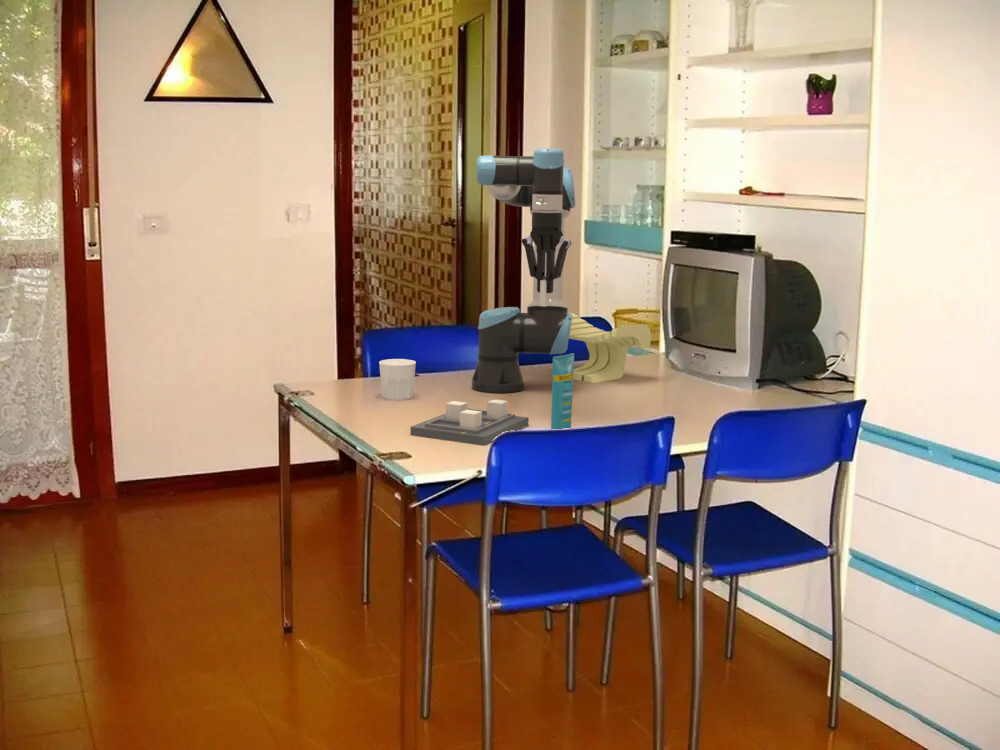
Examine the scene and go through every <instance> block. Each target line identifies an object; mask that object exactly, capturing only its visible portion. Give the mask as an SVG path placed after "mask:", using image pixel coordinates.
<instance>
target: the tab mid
mask: <svg viewBox="0 0 1000 750" xmlns="http://www.w3.org/2000/svg"><path fill="white" fill-rule="evenodd" d="M467 408H468V402H466V401H465V402H464V401H457V400H452V401H449V402H447V403H445V414H446V418H448V419H455V420H460V412H462V411H465V410H467Z"/></svg>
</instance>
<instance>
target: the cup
mask: <svg viewBox="0 0 1000 750" xmlns="http://www.w3.org/2000/svg"><path fill="white" fill-rule="evenodd" d="M378 363H379V364H378V365H379V374H380V385H381V386H380V389H381V390H380V391H381V398H383V399H386V400H387V401H388V400H390V401H392V400H393V401H405V400H410V398H411V399H412V398H414V387H415V375H416V364H417V362H416V360H412V359H406V358H391V359H390V358H389V359H382V360H380V361H379V362H378Z"/></svg>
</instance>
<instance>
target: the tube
mask: <svg viewBox="0 0 1000 750" xmlns="http://www.w3.org/2000/svg"><path fill="white" fill-rule="evenodd" d="M574 369H575V353H569V354H568V353H567V354H564V355H557V356H553V357H552V380H551V381H552V383H551V384H552V386H551V416H550V419H551V420H550V430H551V429H563V428H571V429H572V413H573V412H572V407H573V406H572V405H573V391H574V390H573V389H574V379H573V374H574Z"/></svg>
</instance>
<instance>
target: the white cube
mask: <svg viewBox="0 0 1000 750" xmlns="http://www.w3.org/2000/svg"><path fill="white" fill-rule="evenodd" d="M481 427H482V411H474V410H465V411H462V412H460V428H466V429H474V430H477V429H479V428H481Z"/></svg>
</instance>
